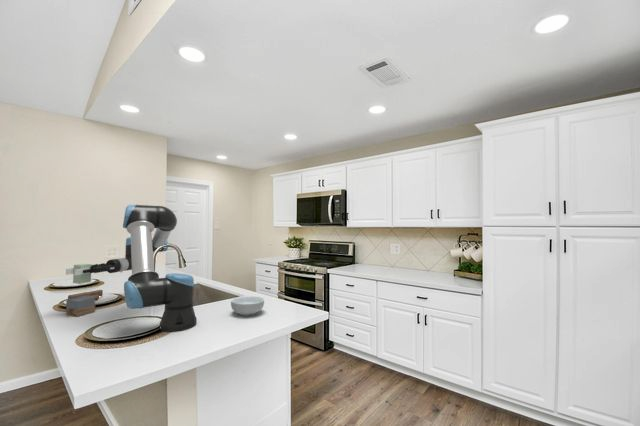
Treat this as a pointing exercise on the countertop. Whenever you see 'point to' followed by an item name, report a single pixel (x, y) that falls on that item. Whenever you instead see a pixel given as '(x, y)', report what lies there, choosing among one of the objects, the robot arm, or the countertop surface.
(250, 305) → the cereal bowl
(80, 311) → the tower base
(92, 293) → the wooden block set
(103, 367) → the countertop surface
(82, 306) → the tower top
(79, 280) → the green pillar
